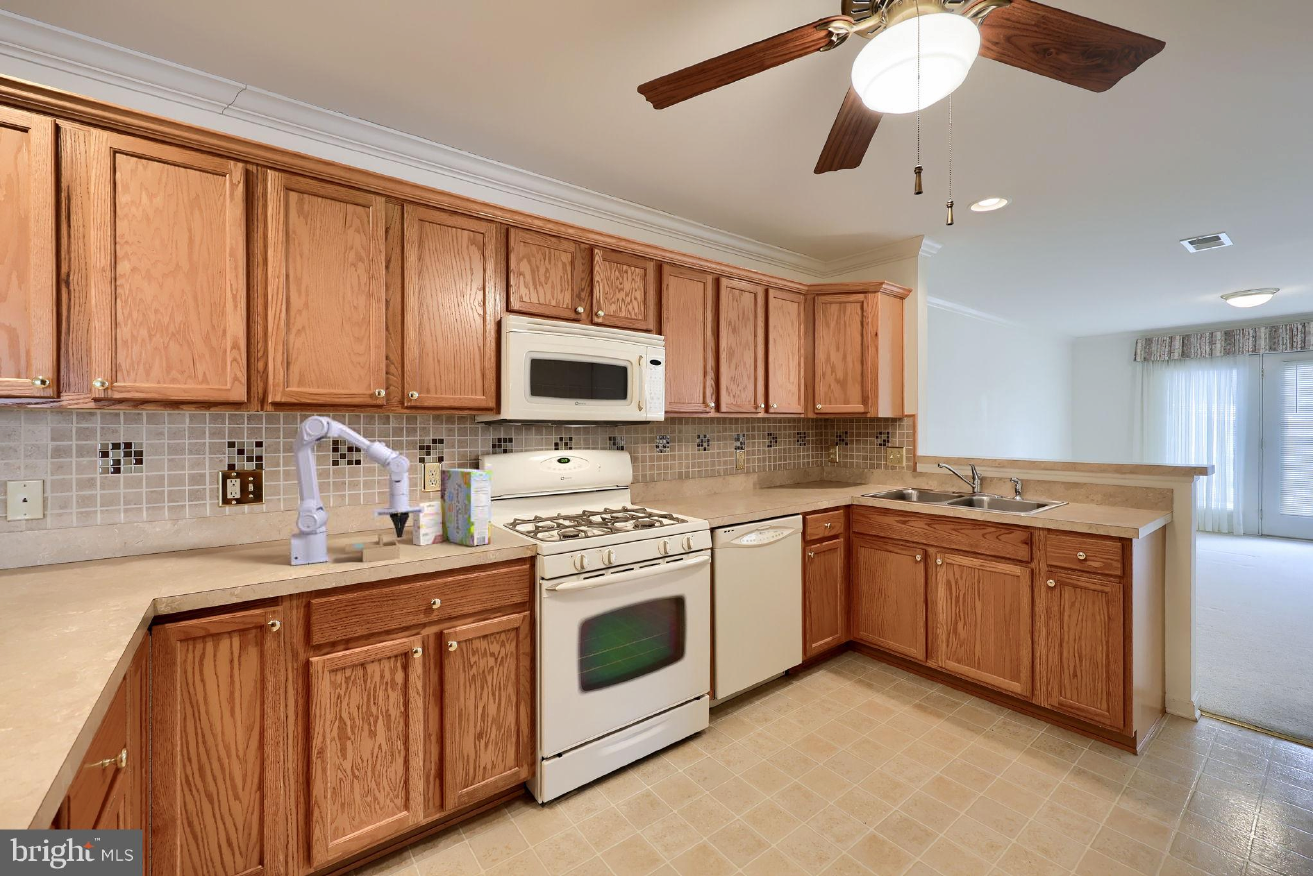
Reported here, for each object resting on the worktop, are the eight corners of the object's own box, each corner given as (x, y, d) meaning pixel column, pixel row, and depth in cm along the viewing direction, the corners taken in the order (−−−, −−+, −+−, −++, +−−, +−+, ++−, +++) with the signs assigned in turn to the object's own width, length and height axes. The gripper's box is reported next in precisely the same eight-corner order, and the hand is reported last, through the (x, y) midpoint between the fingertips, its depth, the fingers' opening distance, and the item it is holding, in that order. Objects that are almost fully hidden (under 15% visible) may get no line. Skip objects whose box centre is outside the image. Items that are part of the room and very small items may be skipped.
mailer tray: (363, 562, 168) (362, 549, 168) (361, 557, 175) (361, 544, 175) (399, 558, 173) (399, 545, 173) (396, 553, 180) (396, 541, 180)
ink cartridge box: (435, 540, 201) (434, 499, 201) (442, 542, 198) (442, 500, 198) (412, 544, 194) (411, 502, 194) (420, 546, 191) (419, 503, 191)
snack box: (493, 543, 195) (492, 470, 194) (470, 548, 188) (469, 471, 188) (461, 536, 209) (460, 467, 209) (438, 539, 203) (438, 468, 202)
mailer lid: (345, 550, 166) (345, 541, 166) (345, 545, 173) (344, 537, 173) (383, 547, 171) (382, 538, 171) (381, 542, 178) (380, 534, 178)
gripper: (374, 497, 170) (374, 541, 170) (425, 494, 177) (425, 537, 177) (372, 494, 176) (373, 537, 176) (422, 491, 183) (422, 533, 183)
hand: (399, 537), depth 177 cm, fingers closed
